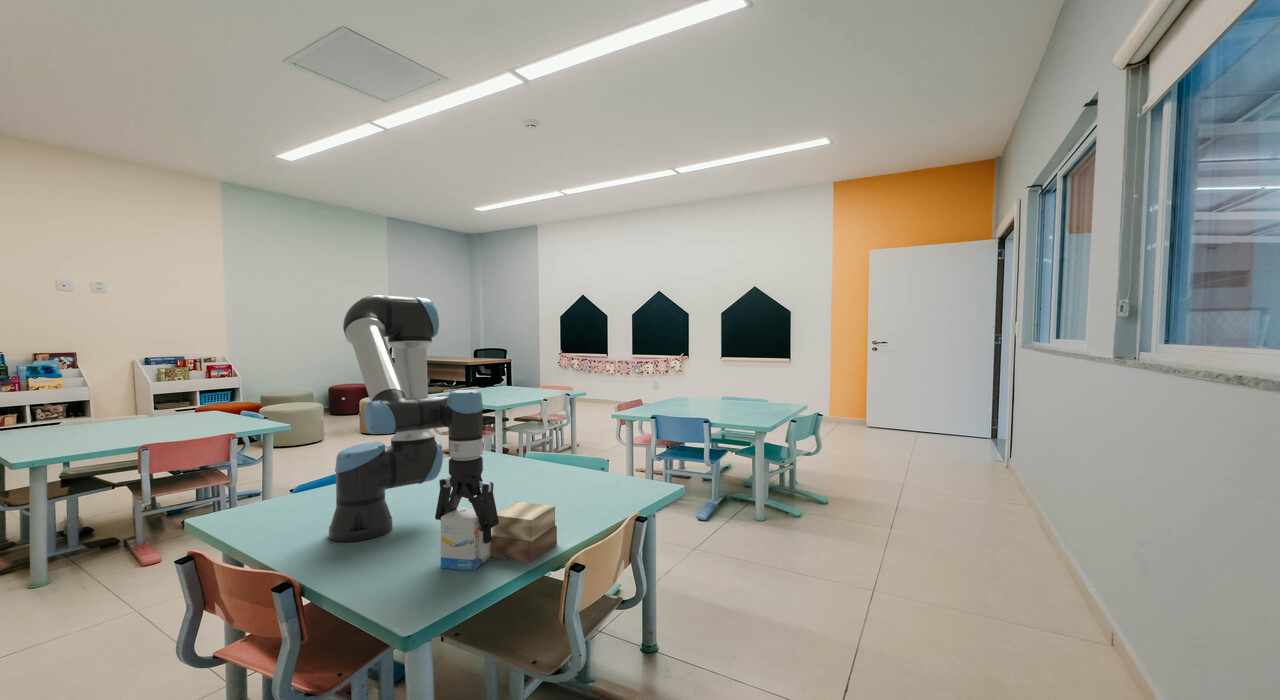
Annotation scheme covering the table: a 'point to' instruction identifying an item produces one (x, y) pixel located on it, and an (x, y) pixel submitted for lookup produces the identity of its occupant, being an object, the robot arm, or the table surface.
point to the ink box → (461, 540)
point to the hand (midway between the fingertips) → (466, 553)
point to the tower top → (524, 521)
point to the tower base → (523, 546)
